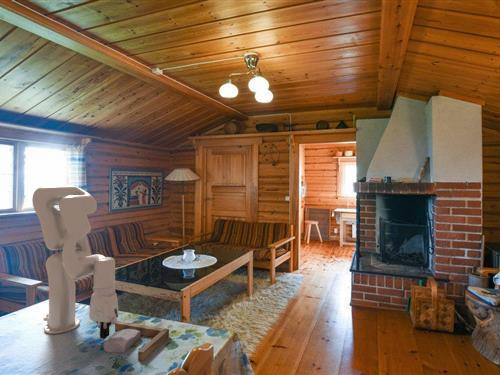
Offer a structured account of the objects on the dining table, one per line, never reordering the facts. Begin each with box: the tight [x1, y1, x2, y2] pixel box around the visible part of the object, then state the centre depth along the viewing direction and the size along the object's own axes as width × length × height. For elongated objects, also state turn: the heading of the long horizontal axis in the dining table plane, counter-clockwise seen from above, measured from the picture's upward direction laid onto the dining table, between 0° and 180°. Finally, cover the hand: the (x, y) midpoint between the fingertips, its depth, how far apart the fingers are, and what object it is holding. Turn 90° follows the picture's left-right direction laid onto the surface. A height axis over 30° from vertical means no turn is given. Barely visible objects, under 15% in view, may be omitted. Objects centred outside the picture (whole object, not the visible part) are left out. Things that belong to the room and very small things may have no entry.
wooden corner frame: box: [114, 320, 170, 362], centre depth 115 cm, size 24×17×3 cm
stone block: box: [102, 329, 141, 354], centre depth 115 cm, size 12×5×10 cm
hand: (104, 337), depth 117 cm, fingers closed
